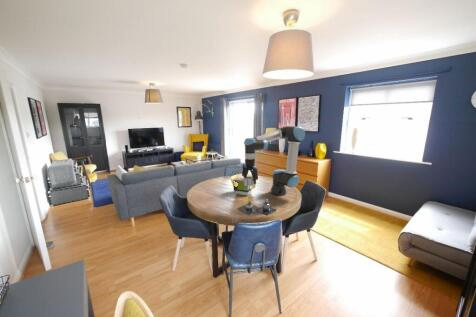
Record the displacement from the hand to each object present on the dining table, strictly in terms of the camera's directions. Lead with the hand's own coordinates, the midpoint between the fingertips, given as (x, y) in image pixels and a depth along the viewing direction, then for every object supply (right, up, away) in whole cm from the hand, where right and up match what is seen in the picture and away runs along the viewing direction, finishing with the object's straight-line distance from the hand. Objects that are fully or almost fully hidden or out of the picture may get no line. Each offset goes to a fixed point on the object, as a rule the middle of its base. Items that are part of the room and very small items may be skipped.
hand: (249, 186), depth 157 cm
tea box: (-5, -12, +38) cm, 40 cm away
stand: (+13, -19, +1) cm, 23 cm away
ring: (0, +2, 0) cm, 2 cm away
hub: (0, -19, +4) cm, 19 cm away
